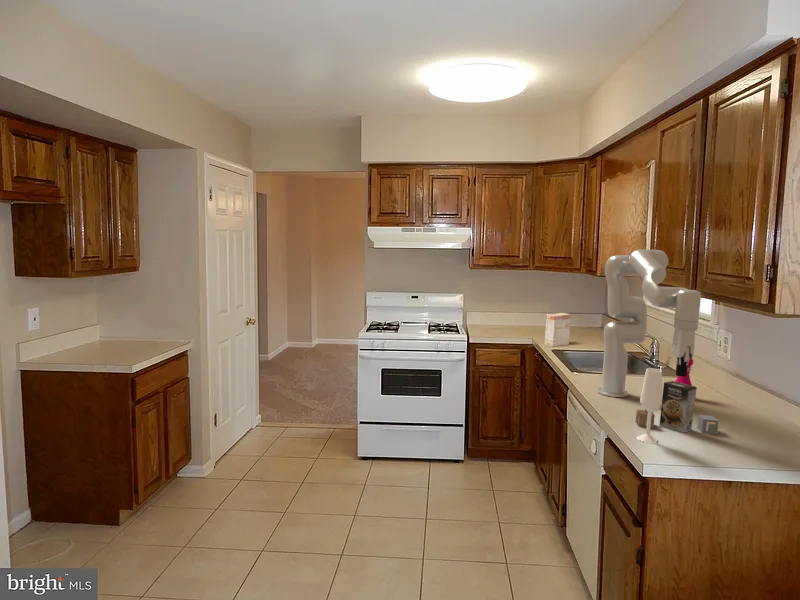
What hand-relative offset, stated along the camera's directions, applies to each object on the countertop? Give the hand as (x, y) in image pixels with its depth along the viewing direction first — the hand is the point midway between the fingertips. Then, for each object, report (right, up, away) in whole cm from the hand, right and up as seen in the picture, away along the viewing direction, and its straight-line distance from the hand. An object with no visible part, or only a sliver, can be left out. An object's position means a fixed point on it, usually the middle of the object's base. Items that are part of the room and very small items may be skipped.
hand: (680, 375), depth 199 cm
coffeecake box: (-2, -1, +150) cm, 150 cm away
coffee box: (-1, -19, +2) cm, 20 cm away
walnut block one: (-11, -19, +4) cm, 22 cm away
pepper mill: (+22, -15, +42) cm, 50 cm away
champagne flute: (-17, -20, -11) cm, 28 cm away
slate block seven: (+10, -20, 0) cm, 22 cm away
